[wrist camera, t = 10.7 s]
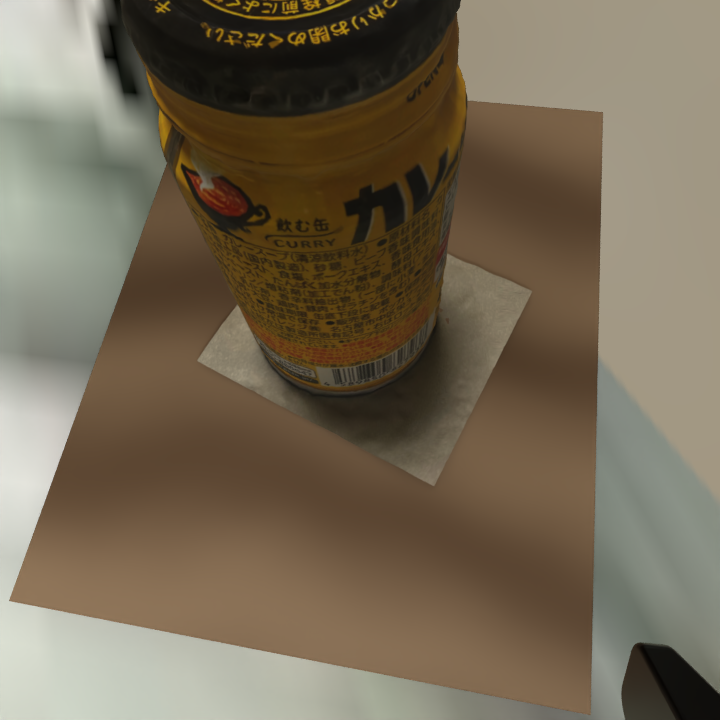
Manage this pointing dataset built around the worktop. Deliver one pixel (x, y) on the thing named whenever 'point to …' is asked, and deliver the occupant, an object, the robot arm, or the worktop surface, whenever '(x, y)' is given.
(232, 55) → the yellow black cylinder
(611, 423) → the worktop surface
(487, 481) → the walnut board
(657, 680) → the robot arm
